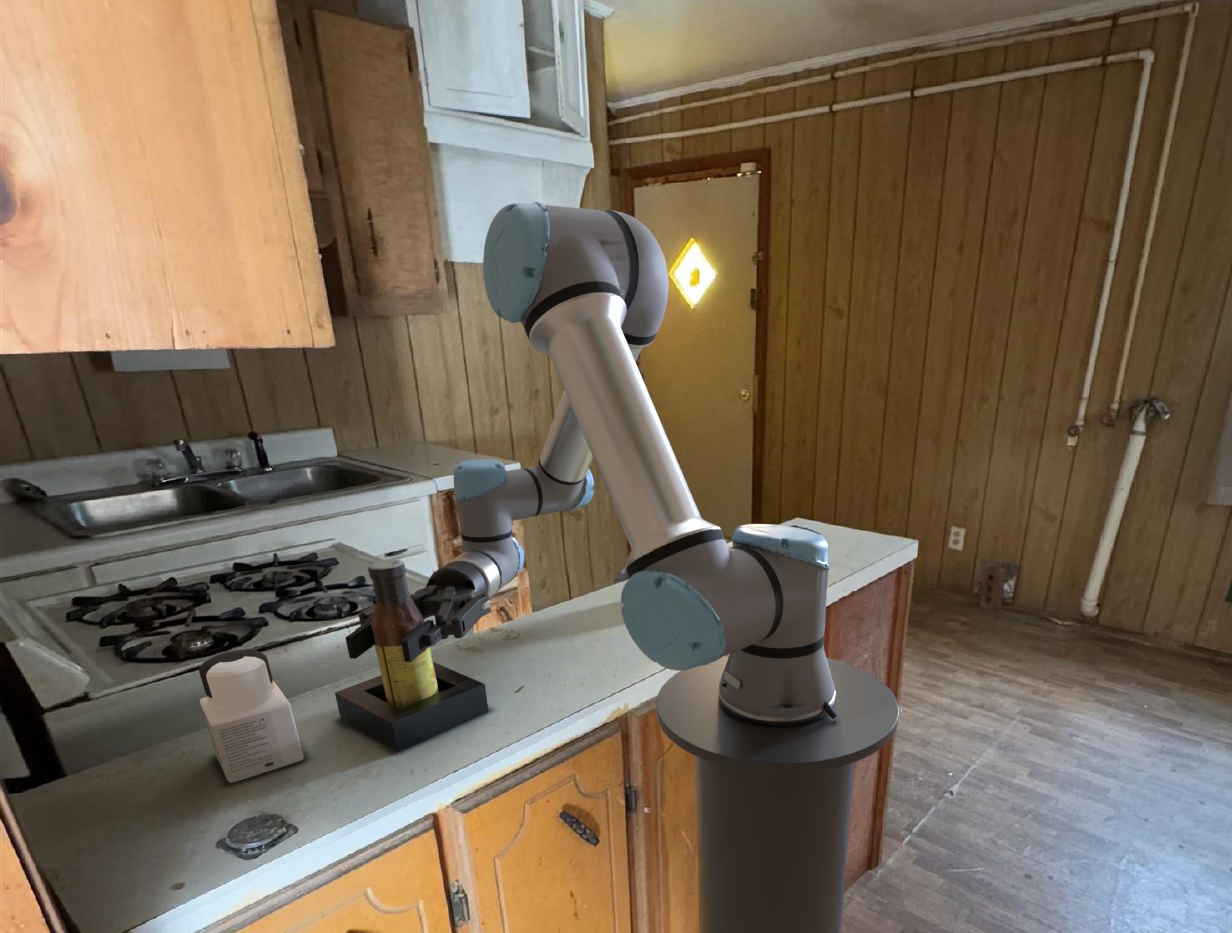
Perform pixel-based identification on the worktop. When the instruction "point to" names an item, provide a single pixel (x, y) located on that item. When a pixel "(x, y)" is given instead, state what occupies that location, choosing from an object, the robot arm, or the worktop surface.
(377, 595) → the sauce bottle
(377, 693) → the black square socket
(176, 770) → the worktop surface
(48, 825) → the worktop surface
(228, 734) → the container
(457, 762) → the worktop surface
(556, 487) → the robot arm
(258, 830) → the worktop surface
